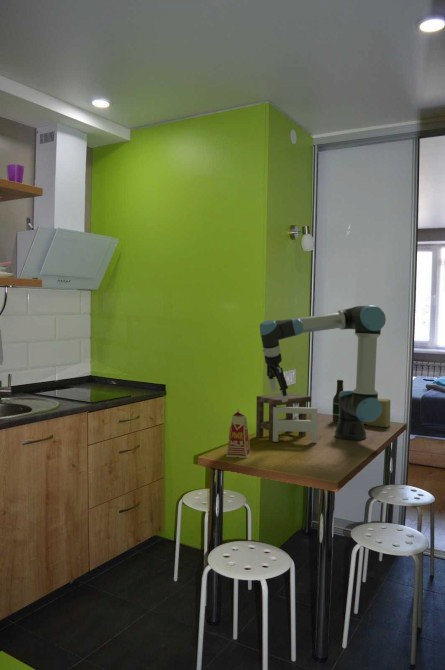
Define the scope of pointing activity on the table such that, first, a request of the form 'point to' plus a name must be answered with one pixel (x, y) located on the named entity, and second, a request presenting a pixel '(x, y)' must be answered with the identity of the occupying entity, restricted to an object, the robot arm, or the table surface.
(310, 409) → the gate leg
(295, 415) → the beer glass
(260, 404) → the stool
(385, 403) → the cheese
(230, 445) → the milk carton
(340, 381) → the beer bottle
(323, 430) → the table surface
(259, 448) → the table surface
